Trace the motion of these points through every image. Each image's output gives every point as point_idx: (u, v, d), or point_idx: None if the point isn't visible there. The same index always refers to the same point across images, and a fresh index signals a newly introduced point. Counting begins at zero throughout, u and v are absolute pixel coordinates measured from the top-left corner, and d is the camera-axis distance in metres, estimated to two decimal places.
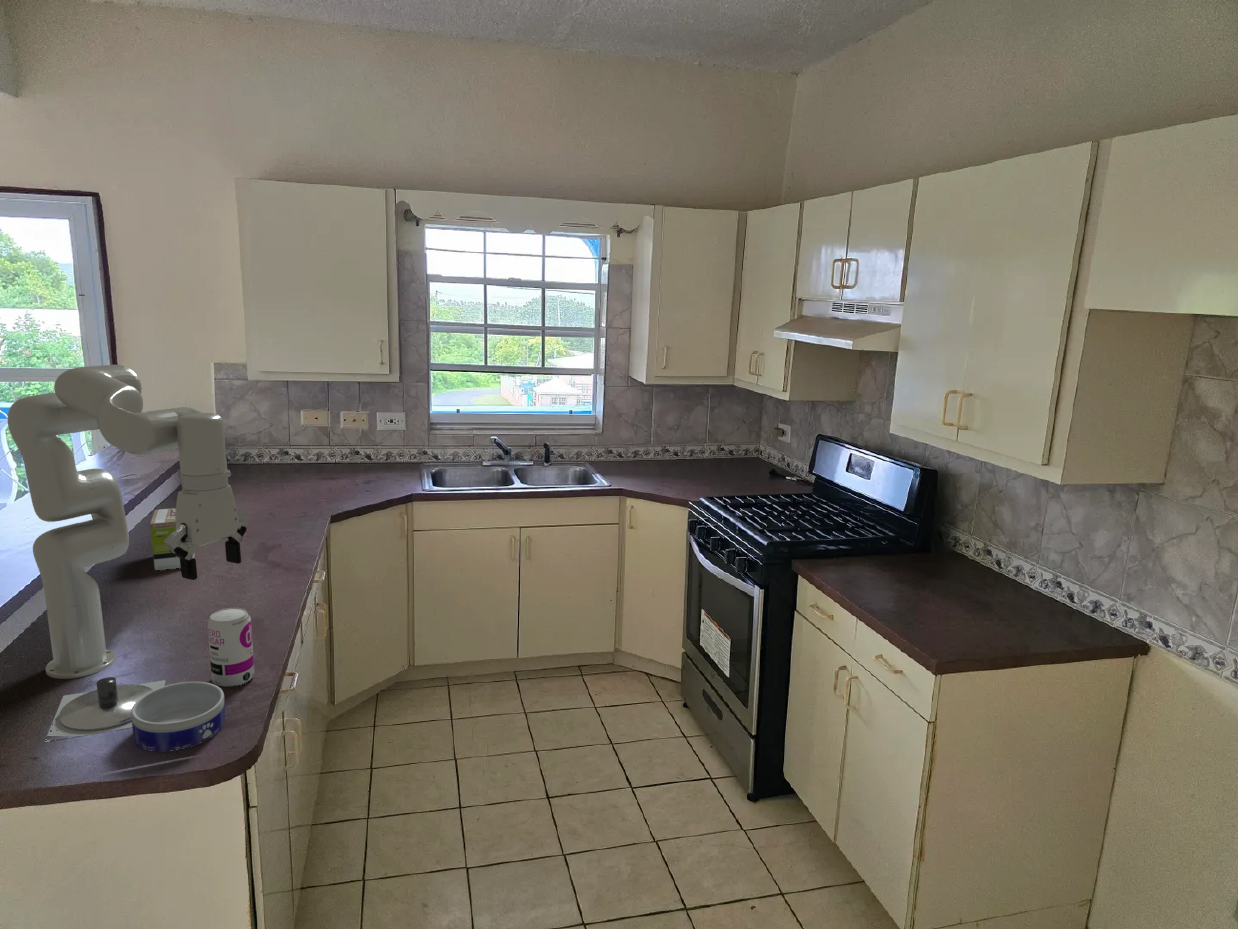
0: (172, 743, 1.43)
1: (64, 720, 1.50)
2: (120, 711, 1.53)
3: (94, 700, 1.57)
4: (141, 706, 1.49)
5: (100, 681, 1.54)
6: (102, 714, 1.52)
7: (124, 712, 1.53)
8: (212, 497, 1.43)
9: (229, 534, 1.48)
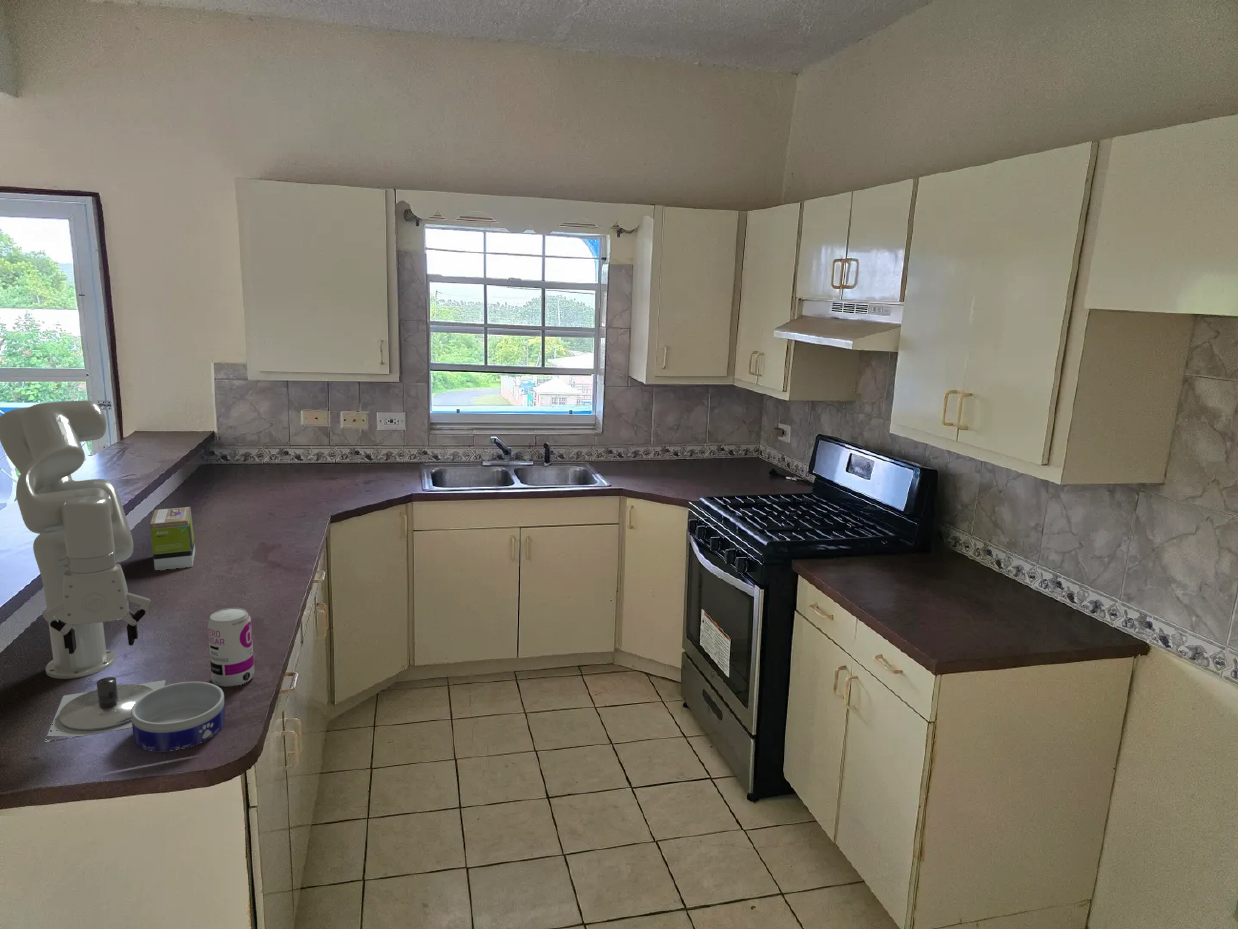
0: (172, 743, 1.43)
1: (64, 720, 1.50)
2: (120, 711, 1.53)
3: (94, 700, 1.57)
4: (141, 706, 1.49)
5: (100, 681, 1.54)
6: (102, 714, 1.52)
7: (124, 712, 1.53)
8: None
9: None
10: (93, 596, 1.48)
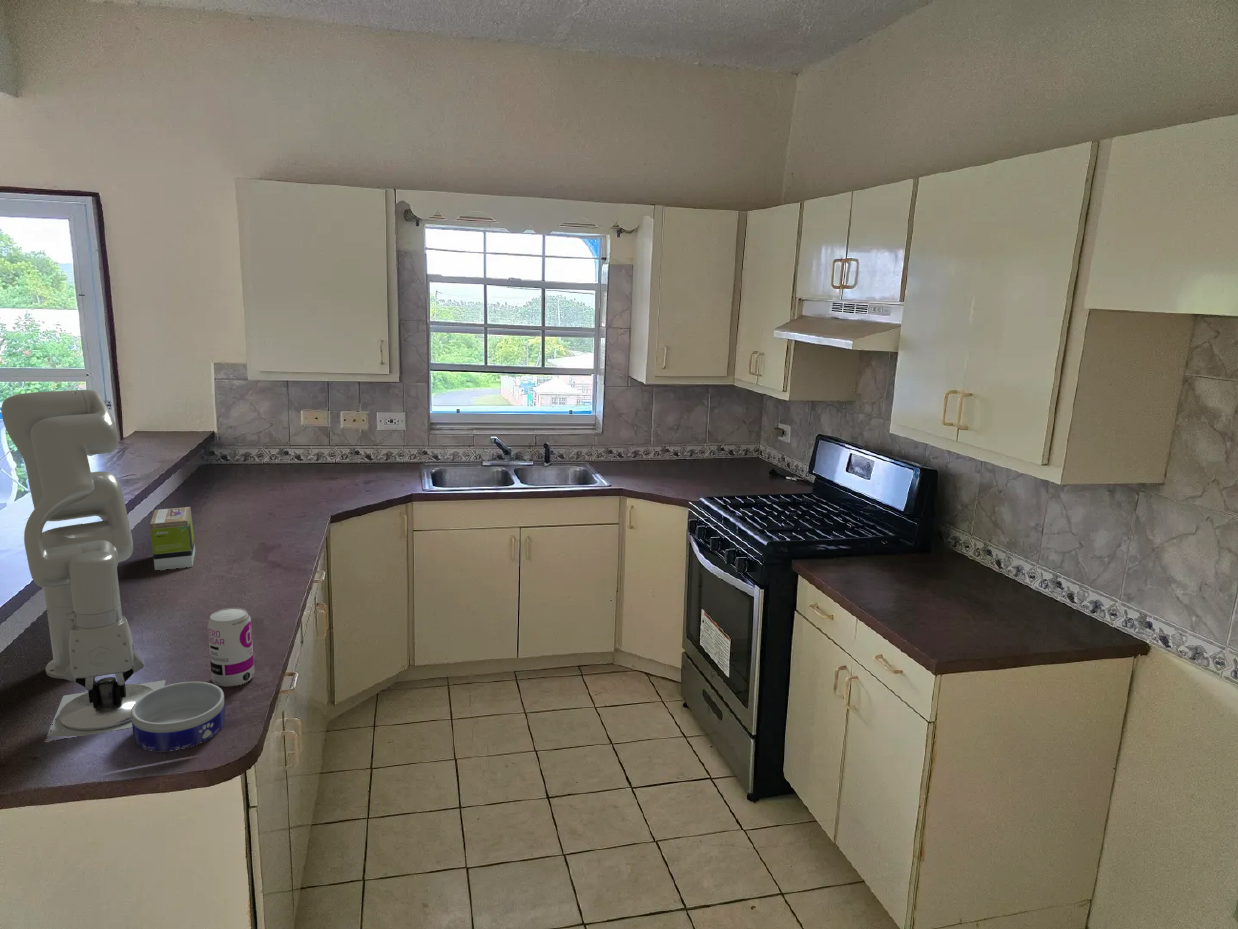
0: (172, 743, 1.43)
1: (64, 720, 1.49)
2: (120, 711, 1.53)
3: None
4: (141, 706, 1.49)
5: (100, 681, 1.54)
6: (102, 714, 1.52)
7: (124, 712, 1.53)
8: None
9: None
10: (99, 650, 1.50)
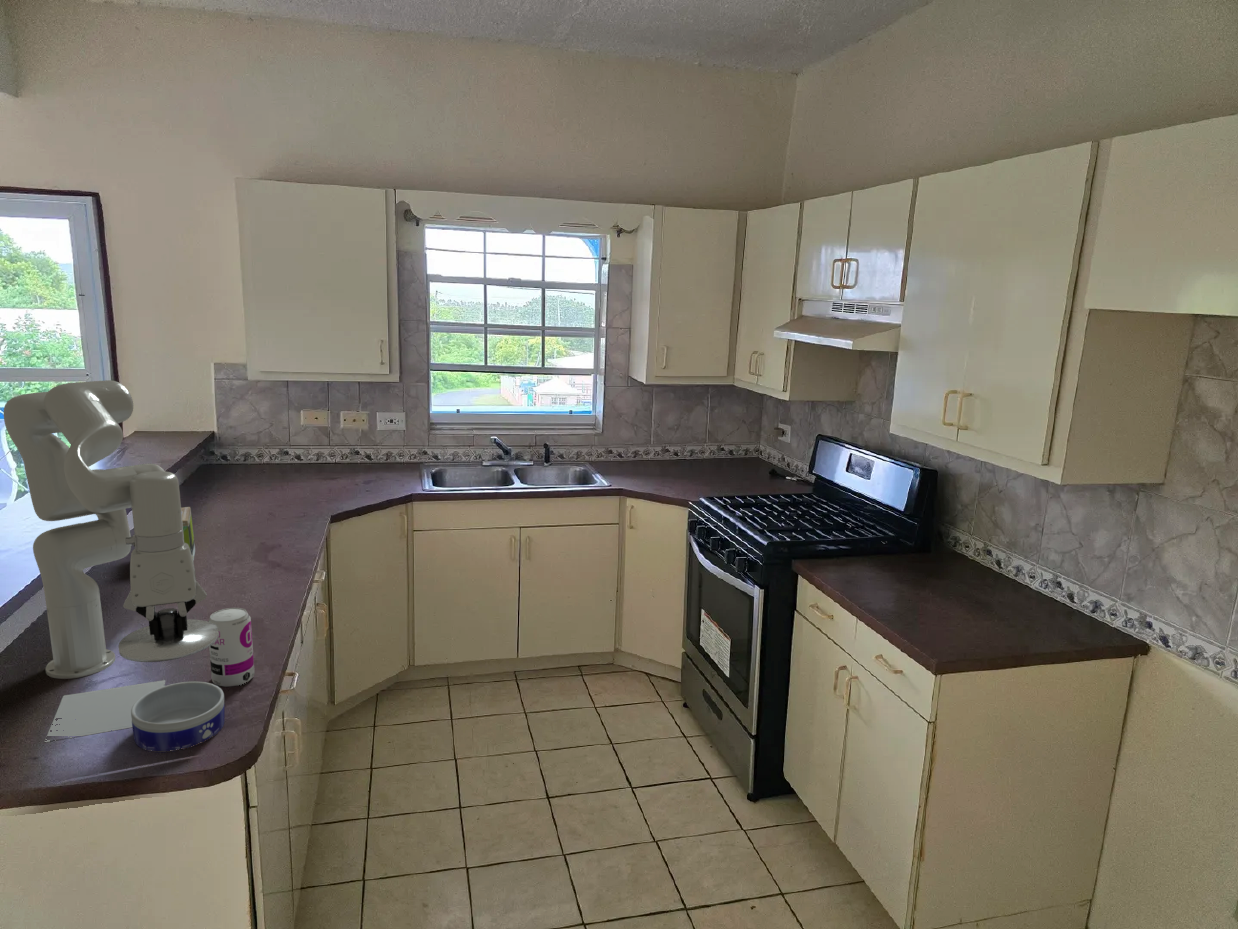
0: (172, 743, 1.43)
1: (125, 651, 1.40)
2: (183, 643, 1.43)
3: None
4: (141, 706, 1.49)
5: (161, 612, 1.44)
6: (164, 646, 1.42)
7: (187, 644, 1.43)
8: None
9: None
10: (161, 576, 1.40)
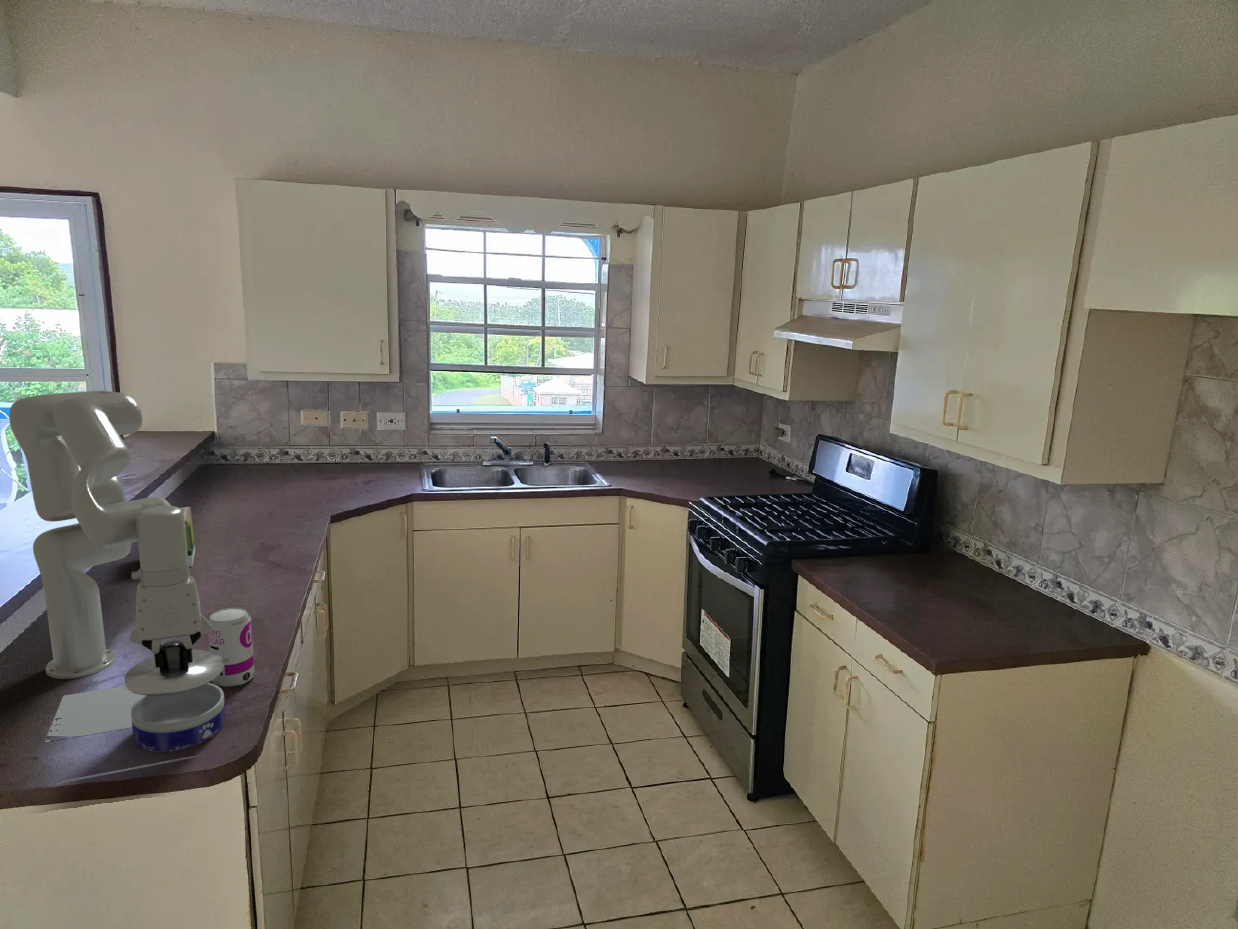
0: (172, 743, 1.43)
1: (131, 684, 1.41)
2: (188, 675, 1.45)
3: None
4: (141, 706, 1.49)
5: (166, 644, 1.46)
6: (169, 678, 1.43)
7: (192, 676, 1.44)
8: None
9: None
10: (167, 610, 1.42)
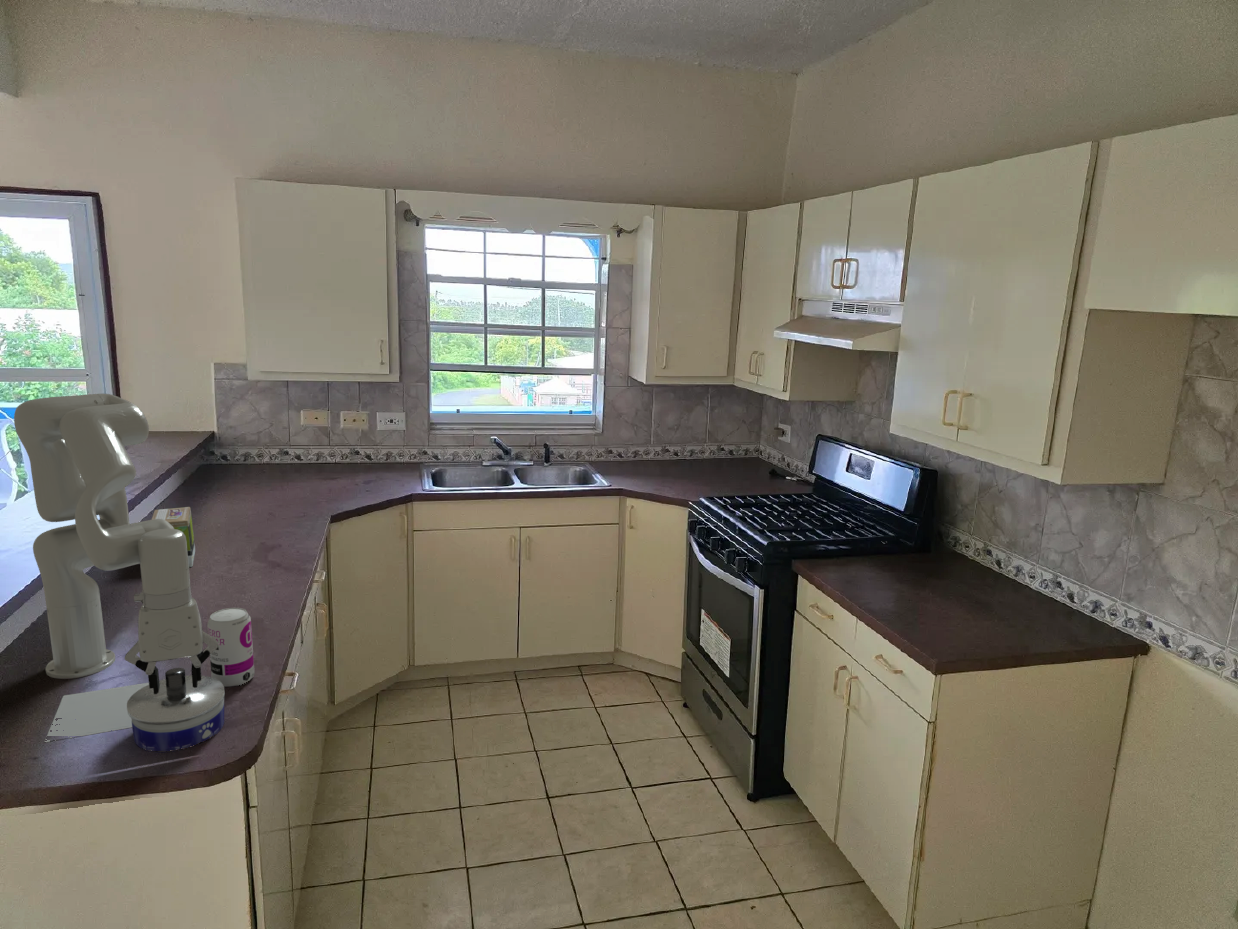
0: (172, 743, 1.43)
1: (133, 712, 1.42)
2: (190, 704, 1.46)
3: (161, 691, 1.49)
4: None
5: (169, 672, 1.47)
6: (171, 707, 1.45)
7: (194, 705, 1.46)
8: None
9: None
10: (169, 632, 1.43)
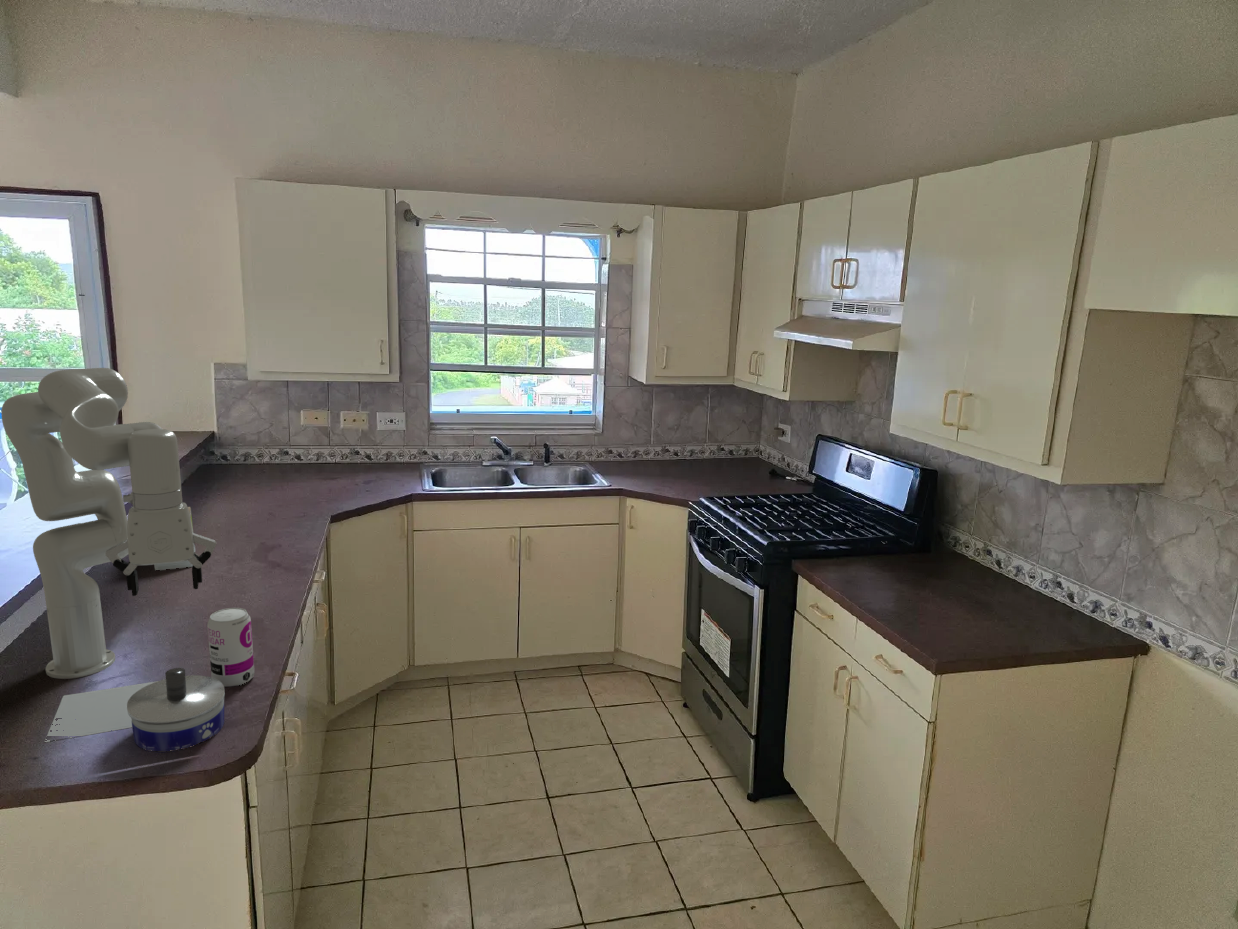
0: (172, 743, 1.43)
1: (133, 712, 1.42)
2: (190, 704, 1.46)
3: (161, 691, 1.49)
4: None
5: (169, 672, 1.47)
6: (172, 707, 1.45)
7: (194, 705, 1.46)
8: None
9: None
10: (159, 535, 1.39)
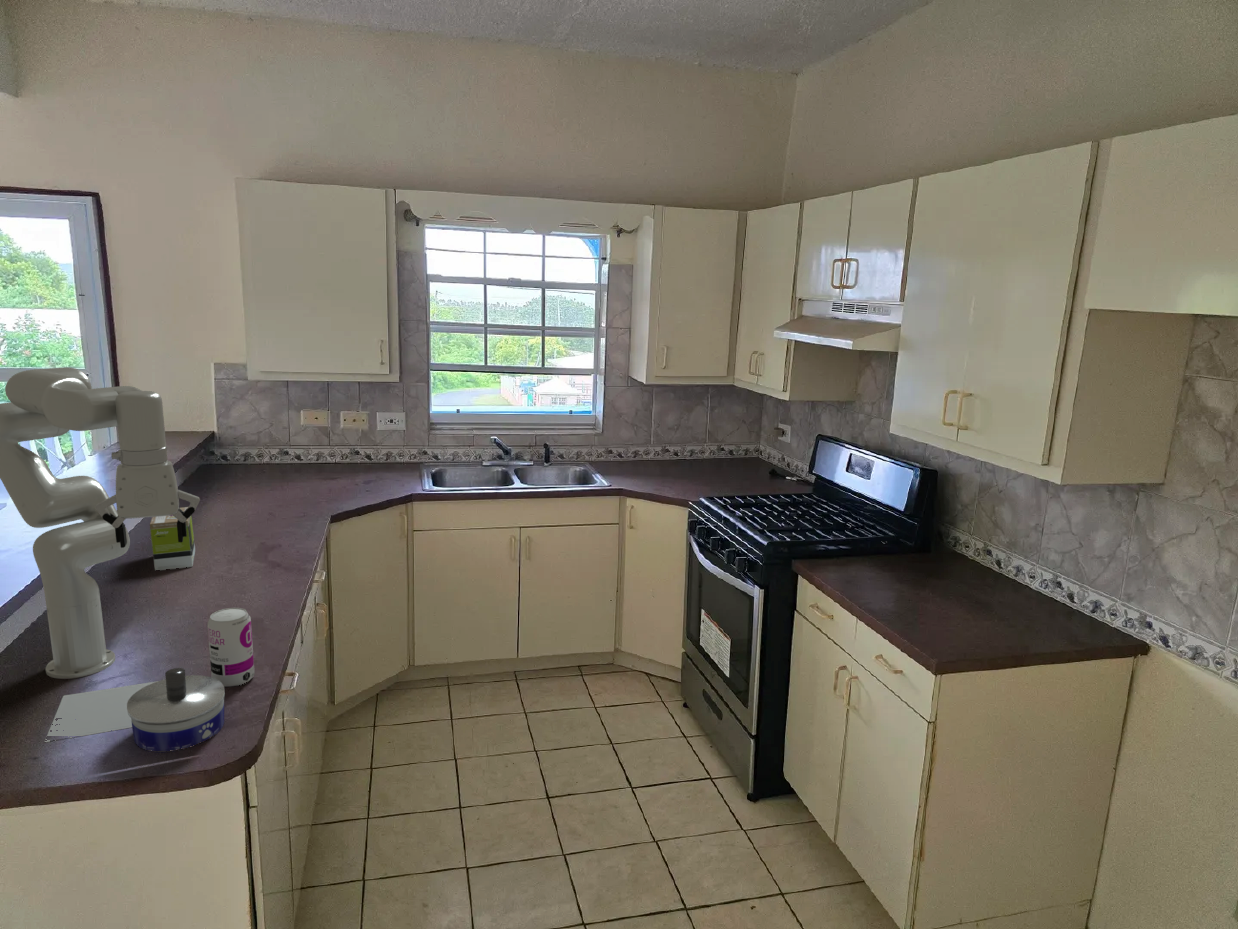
0: (172, 743, 1.43)
1: (133, 712, 1.42)
2: (190, 704, 1.46)
3: (161, 691, 1.49)
4: None
5: (169, 672, 1.47)
6: (171, 707, 1.45)
7: (194, 705, 1.46)
8: None
9: None
10: (145, 490, 1.49)
